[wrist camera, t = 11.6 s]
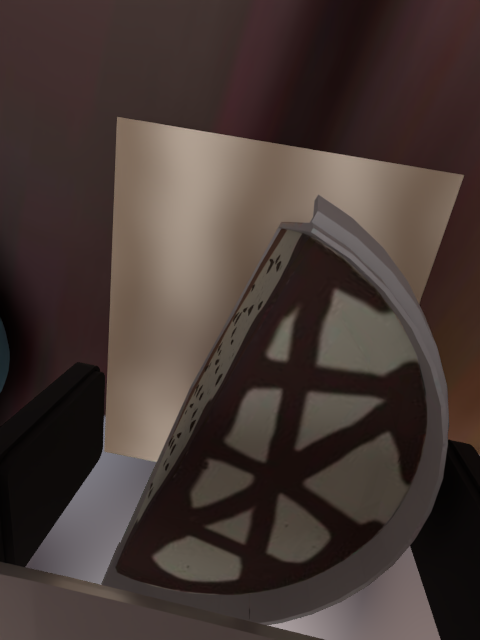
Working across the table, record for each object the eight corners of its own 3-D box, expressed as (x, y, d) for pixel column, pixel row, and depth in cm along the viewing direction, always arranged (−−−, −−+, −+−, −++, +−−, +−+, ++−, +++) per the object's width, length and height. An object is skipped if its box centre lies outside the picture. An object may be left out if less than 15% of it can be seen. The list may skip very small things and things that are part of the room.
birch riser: (426, 176, 18) (464, 175, 15) (339, 452, 24) (349, 500, 21) (149, 130, 19) (116, 116, 15) (130, 411, 25) (104, 451, 21)
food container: (280, 459, 20) (282, 699, 11) (178, 408, 20) (87, 613, 10) (425, 260, 16) (635, 370, 7) (298, 189, 15) (330, 197, 6)
